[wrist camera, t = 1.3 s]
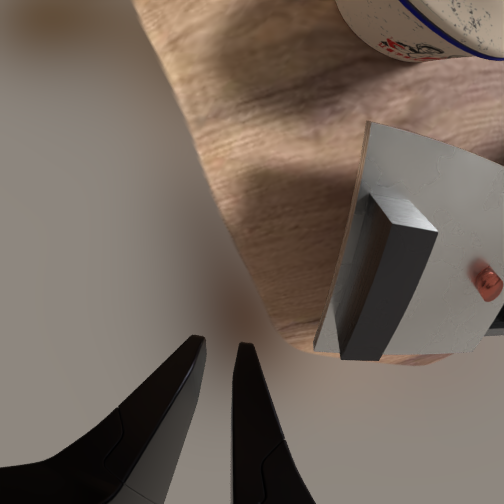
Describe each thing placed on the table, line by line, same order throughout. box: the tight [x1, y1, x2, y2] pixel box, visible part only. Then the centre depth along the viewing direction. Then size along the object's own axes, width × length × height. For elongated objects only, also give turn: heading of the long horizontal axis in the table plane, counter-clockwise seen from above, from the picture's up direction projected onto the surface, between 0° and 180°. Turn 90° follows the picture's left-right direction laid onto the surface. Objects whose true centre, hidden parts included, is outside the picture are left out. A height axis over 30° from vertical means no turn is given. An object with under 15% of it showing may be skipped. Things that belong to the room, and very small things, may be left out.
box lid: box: [313, 121, 504, 361], centre depth 12 cm, size 13×13×4 cm
